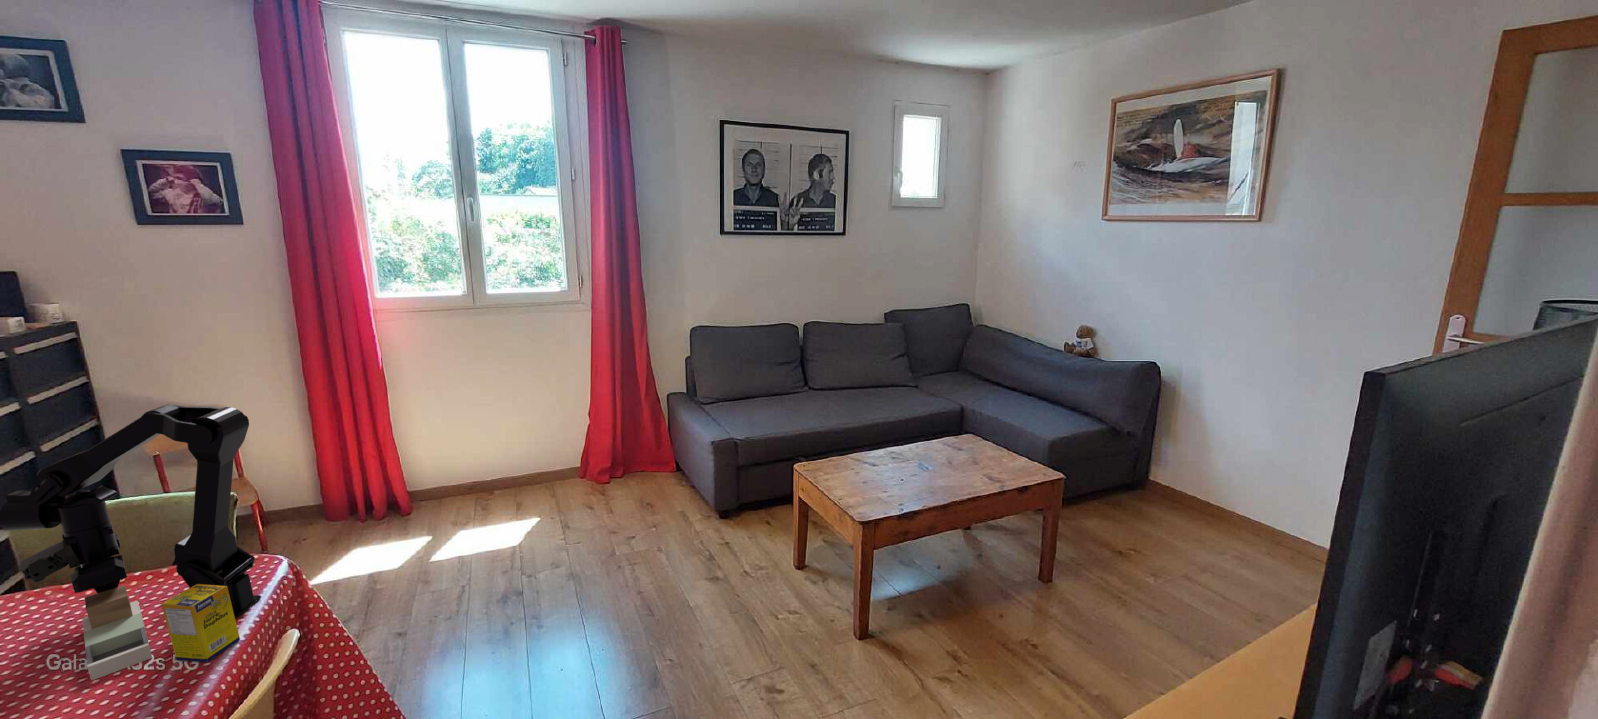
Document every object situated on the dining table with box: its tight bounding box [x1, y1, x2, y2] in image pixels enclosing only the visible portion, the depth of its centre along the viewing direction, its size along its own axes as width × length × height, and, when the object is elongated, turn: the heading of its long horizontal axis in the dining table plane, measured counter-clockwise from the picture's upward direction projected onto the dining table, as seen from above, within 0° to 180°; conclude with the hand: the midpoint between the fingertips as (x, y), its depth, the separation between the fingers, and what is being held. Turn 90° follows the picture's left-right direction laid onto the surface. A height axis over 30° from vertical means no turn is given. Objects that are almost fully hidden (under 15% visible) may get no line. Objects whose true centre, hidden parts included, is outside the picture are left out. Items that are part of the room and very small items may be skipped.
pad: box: [83, 612, 148, 657], centre depth 111 cm, size 6×7×2 cm
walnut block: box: [84, 584, 133, 629], centre depth 114 cm, size 5×5×4 cm
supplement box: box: [161, 584, 241, 664], centre depth 108 cm, size 6×6×11 cm
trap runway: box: [81, 600, 153, 681], centre depth 112 cm, size 22×7×2 cm, turn 49°
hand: (109, 601), depth 117 cm, fingers closed
